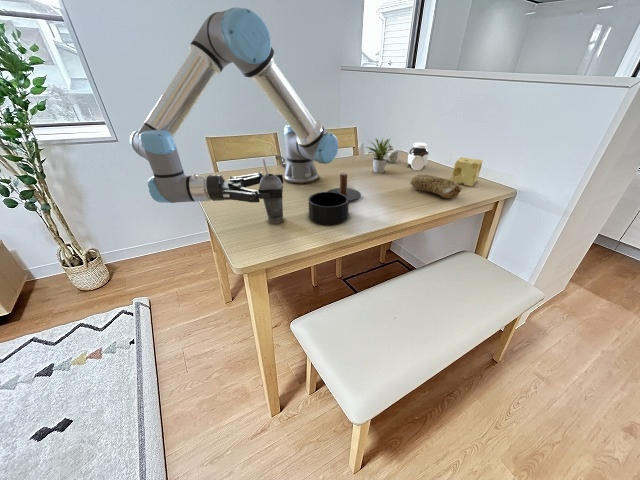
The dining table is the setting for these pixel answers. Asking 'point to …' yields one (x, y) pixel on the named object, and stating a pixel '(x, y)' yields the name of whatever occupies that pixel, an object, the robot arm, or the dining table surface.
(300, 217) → the dining table surface
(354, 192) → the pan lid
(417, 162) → the spread jar
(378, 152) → the house plant
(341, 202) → the black round bowl
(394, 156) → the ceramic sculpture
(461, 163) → the cheese
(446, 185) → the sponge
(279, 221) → the beverage cup
